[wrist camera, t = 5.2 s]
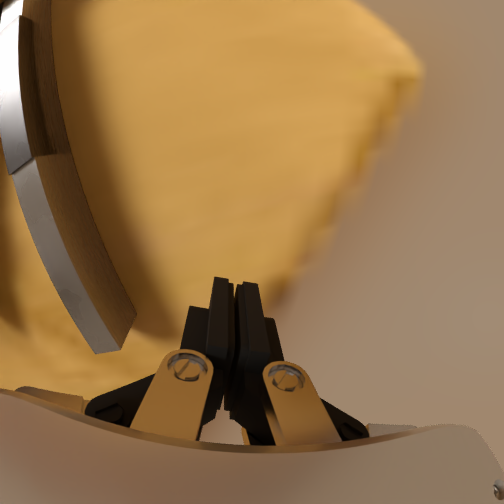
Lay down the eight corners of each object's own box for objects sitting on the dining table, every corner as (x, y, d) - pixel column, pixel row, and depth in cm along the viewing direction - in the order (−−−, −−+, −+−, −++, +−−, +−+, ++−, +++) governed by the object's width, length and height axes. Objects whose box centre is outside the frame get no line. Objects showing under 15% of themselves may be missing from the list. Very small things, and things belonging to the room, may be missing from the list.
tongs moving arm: (137, 314, 13) (119, 352, 10) (113, 319, 13) (93, 356, 10) (51, -19, 5) (27, -37, 2) (32, -5, 5) (6, -19, 2)
